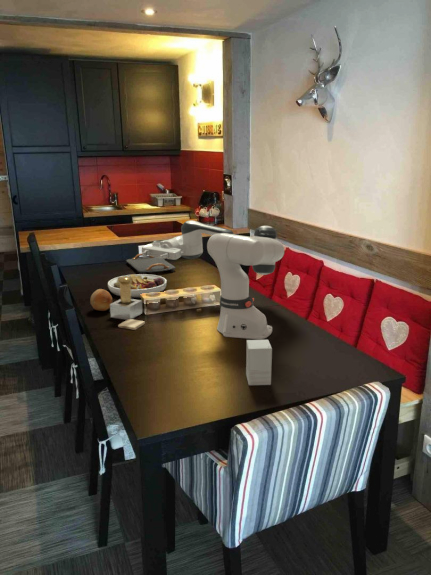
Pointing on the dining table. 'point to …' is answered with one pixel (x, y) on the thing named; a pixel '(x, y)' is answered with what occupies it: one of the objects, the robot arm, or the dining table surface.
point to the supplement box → (258, 362)
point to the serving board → (150, 264)
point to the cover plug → (125, 289)
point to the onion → (101, 300)
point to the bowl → (139, 284)
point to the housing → (126, 309)
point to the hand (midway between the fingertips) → (151, 256)
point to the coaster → (131, 324)
